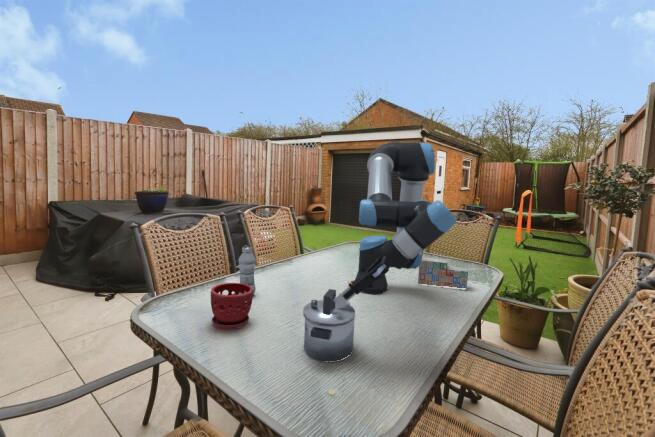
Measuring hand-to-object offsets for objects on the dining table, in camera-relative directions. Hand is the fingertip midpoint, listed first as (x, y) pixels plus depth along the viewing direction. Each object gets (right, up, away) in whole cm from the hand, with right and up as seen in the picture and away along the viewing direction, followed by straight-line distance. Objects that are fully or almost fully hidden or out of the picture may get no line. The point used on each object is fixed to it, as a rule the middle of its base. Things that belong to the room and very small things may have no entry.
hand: (337, 303), depth 90 cm
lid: (-2, -3, +1) cm, 4 cm away
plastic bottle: (-35, -8, +40) cm, 54 cm away
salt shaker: (+2, -11, +22) cm, 25 cm away
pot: (-2, -14, +3) cm, 14 cm away
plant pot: (-34, -11, +16) cm, 39 cm away
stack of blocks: (+51, -8, +62) cm, 80 cm away
